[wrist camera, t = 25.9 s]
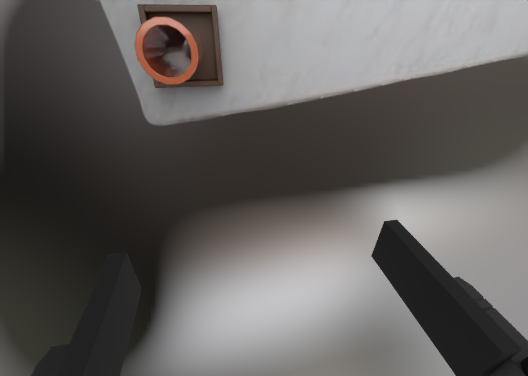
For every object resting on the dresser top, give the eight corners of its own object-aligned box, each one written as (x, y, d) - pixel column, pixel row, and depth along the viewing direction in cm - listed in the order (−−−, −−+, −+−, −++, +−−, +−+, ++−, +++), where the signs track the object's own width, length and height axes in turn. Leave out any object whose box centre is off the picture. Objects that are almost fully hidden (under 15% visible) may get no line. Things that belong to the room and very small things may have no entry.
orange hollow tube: (171, 70, 31) (143, 85, 19) (163, 28, 29) (127, 16, 17) (206, 69, 32) (201, 83, 20) (202, 28, 30) (193, 16, 18)
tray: (159, 84, 32) (155, 87, 30) (143, 7, 28) (137, 4, 26) (222, 82, 33) (223, 85, 31) (216, 8, 29) (216, 5, 27)
